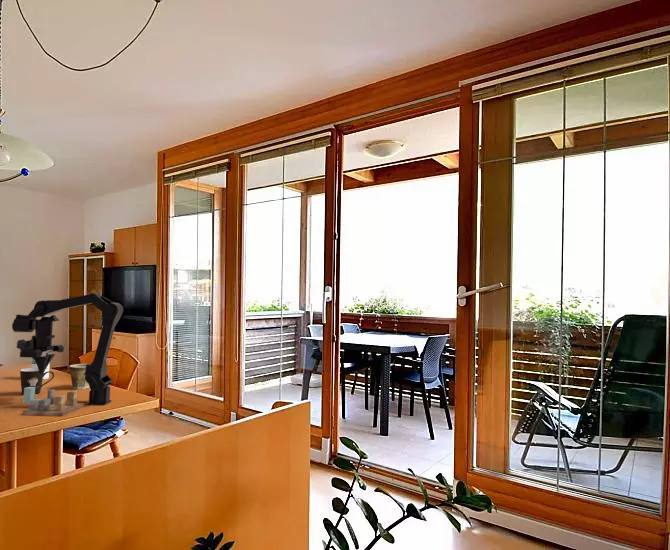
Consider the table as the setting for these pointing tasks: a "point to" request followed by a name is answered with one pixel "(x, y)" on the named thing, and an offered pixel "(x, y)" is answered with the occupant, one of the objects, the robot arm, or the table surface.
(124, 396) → the table surface
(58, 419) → the table surface
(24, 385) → the coffee mug
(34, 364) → the syrup box
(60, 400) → the block puzzle board
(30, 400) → the teal l-shaped block
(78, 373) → the ceramic cup
